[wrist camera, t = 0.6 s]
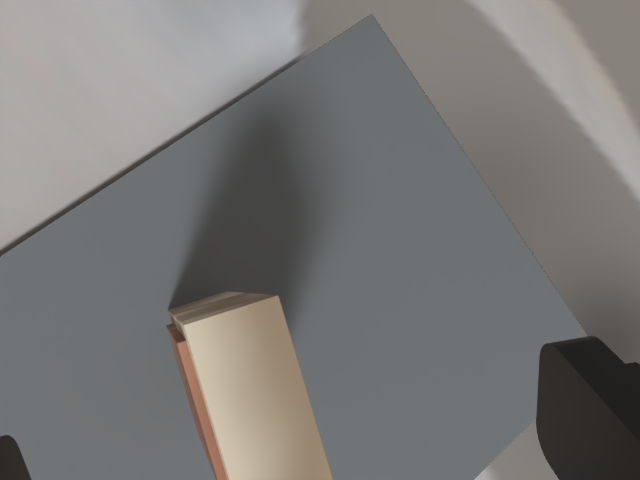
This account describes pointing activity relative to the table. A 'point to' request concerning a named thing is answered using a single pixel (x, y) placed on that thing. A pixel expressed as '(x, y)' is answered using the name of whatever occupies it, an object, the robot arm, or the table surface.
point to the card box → (246, 388)
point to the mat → (287, 286)
